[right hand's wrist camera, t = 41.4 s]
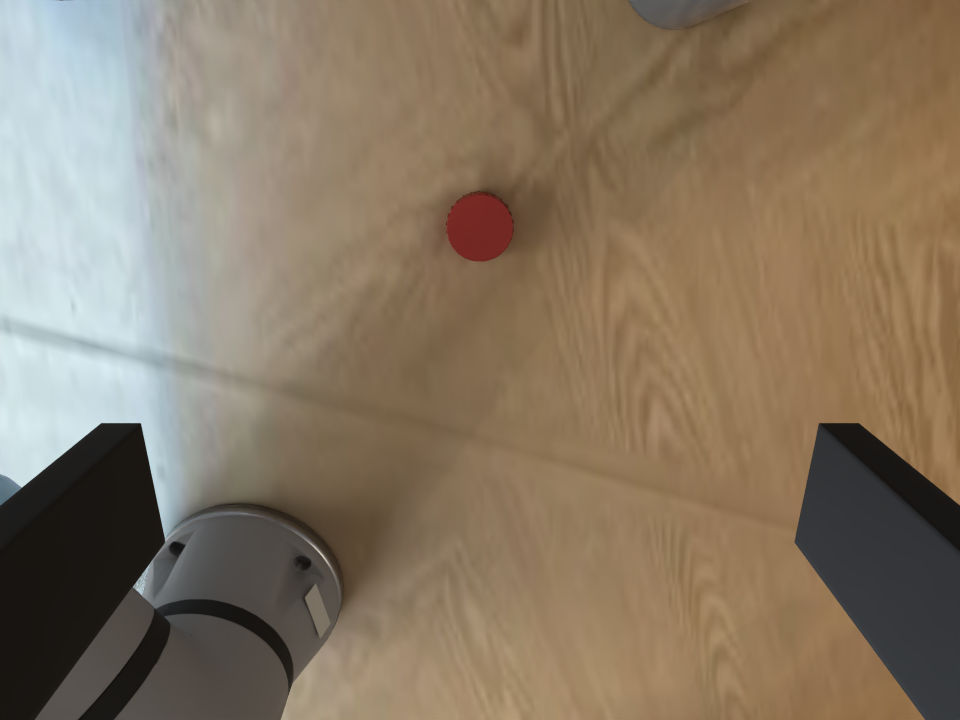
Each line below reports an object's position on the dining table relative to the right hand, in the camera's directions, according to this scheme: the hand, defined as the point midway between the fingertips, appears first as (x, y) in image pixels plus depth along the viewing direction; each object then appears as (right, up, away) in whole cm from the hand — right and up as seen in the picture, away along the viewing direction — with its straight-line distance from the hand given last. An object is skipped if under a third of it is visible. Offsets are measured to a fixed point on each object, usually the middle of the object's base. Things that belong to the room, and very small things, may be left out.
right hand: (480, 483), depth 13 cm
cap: (0, +11, +29) cm, 31 cm away
